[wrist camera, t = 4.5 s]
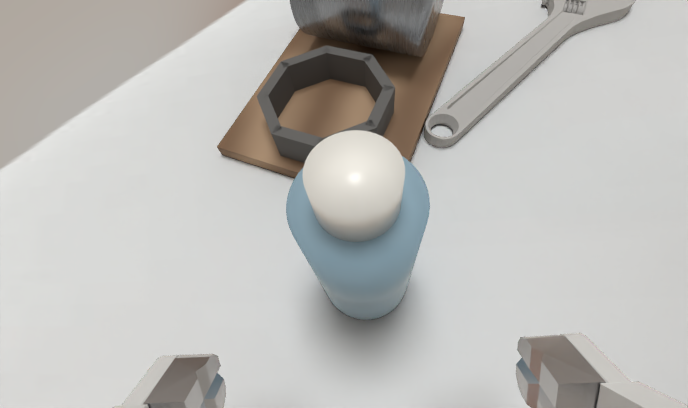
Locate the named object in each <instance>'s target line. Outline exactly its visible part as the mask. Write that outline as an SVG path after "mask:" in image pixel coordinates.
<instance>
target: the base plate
mask: <svg viewBox="0 0 688 408" xmlns="http://www.w3.org/2000/svg"><path fill="white" fill-rule="evenodd" d="M464 19H465V17H460V16H454V15H448V14H442V13H440V15H439V18H438V22H437V25H436V28H435V31H434V34H433V36H432V39H431V42H430V44H429V46H428V48H427V50H426V52H425V54H424V55H423V56H422V57H417V56H412V55H407V54H402V53H397V52H392V51H387V50H382V49H377V48H372V47H367V46H362V45H357V44H352V43H347V42H342V41H337V40H332V39H326V38H321V37H316V36H311V35H307V34H305V33H304V32H303V31H302V30H301V29H299V31H298V32H297V33H296V35H295V36H294V38H293V39H292V41H291V42H290V43H289V45H288V46H287V48H286V49H285V51H284V52H283V53H282V55H281V56H280V58H279V59H278V61H277V62H276V63H275V65H274V66H273V68H272V69H271V71H270V72H269V73H268V75H267V76H266V78H265V79H264V81H263V82H262V83H261V85H260V86H259V88H258V89H257V91H256V92H255V93H254V95H253V96H252V98H251V99H250V101H249V102H248V103H247V105H246V106H245V108H244V109H243V111H242V112H241V113H240V115H239V116H238V118H237V119H236V120H235V122H234V123H233V125H232V126H231V128H230V129H229V130H228V132H227V133H226V135H225V136H224V138H223V139H222V140H221V142H220V143H219V145H218V146H217V148H218V149H219V151H220V152H221V154H222V155H225V156H228V157H231V158H234V159H237V160H240V161H243V162H246V163H250V164H253V165H256V166H259V167H262V168H265V169H268V170H271V171H274V172H278V173H281V174H284V175H287V176H290V177H293V178H296V176H297V175H298V173H299V172H300V171H301V169H302V168H303V167H304V164H305V163H303V162H300V161H296V160H293V159H290V158H287V157H283V156H280V153H279V151H278V149H277V146H276V144H275V142H274V139H273V137H272V135H271V132H270V130H269V127H268V125H267V122H266V119H265V117H264V114H263V112H262V109H261V107H260V104H259V102H258V99H257V97H256V96H257V95H258V93H259V92H260V90H261V89H262V88H263V86H264V85H265V83H266V82H267V80H268V79H269V78H270V76H271V75H272V73H273V72H274V70H275V69H276V67H277V66H278V65H279V63H280V62H281V61H283V60H286V59H289V58H292V57H295V56H298V55H301V54H303V53H306V52H309V51H312V50H315V49H318V48H321V47H323V46H326V45H327V46H332V47H337V48H342V49H347V50H352V51H357V52H361V53H366V54H371V55H373V56H374V58H375V59H376V60H377V62H378V63H379V65H380V66H381V68H382V69H383V70H384V72H385V73H386V75H387V76H388V78H389V79H390V80H391V82H392V83H393V85H394V86H395V100H394V113H393V115H392V118H391V120H390V122H389V124H388V127H387V129H386V131H385V133H384V135H383V137H384V138H386V139H387V140H389V141H390V142H391V143H392V144H393V145H394V146H395V147H396V148H397V149H398V151H399V152H400V154H401V156H403V157H404V158H406V159H407V160H408V161H409V162H410V161H411V158H412V156H413V153H414V150H415V148H416V145H417V143H418V140H419V138H420V135H421V133H422V130H423V127H424V125H425V122H426V120H427V117H428V115H429V112H430V110H431V107H432V104H433V102H434V99H435V97H436V94H437V92H438V89H439V86H440V84H441V81H442V79H443V76H444V74H445V71H446V69H447V66H448V63H449V61H450V58H451V56H452V53H453V51H454V48H455V46H456V43H457V40H458V38H459V35H460V33H461V30H462V28H463V24H464ZM375 103H376V102H375V101H374V99H373V98H372V96H371V94H370V93H369V91H368V90H367V88H366V87H364V86H360V85H356V84H351V83H347V82H343V81H338V80H334V79H328V80H325V81H323V82H320V83H317V84H314V85H311V86H309V87H306V88H303V89H300V90H298V91H295V92H294V94H293V95H292V97H291V99H290V100H289V102H288V103H287V105H286V106H285V108H284V110H283V111H282V113H281V114H280V116H279V117H278V120H279V123H280V125H281V126H283V127H286V128H290V129H293V130H297V131H300V132H304V133H307V134H311V135H315V136H318V137H322V138H324V137H326V136H329V135H332V134H334V133H337V132H339V131H342V130H345V129H347V128H350V127H353V126H355V125H358V124H361V123H363V122H366V121H367V120H368V118H369V116H370V114H371V112H372V109H373V107H374V105H375Z"/></svg>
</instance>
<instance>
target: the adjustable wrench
mask: <svg viewBox="0 0 688 408" xmlns="http://www.w3.org/2000/svg"><path fill="white" fill-rule="evenodd" d="M635 1H636V0H542V5H545V6H546V7H547V9H548V18H547V19H546V20H545V21H544V22H542V23H541V24H540V25H539V26H538V27H536V28H535V29H534V30H533V31H532V32H530V33H529V34H528V35H527V36H525V37H524V38H523V39H522V40H521V41H519V42H518V43H517V44H516V45H515V46H513V47H512V48H511V49H510V50H509V51H507V52H506V53H505V54H504V55H503V56H501V57H500V58H499V59H498V60H497V61H495V62H494V63H493V64H492V65H491V66H489V67H488V68H487V69H486V70H485V71H483V72H482V73H481V74H480V75H479V76H477V77H476V78H475V79H474V80H473V81H471V82H470V83H469V84H468V85H466V86H465V87H464V88H463V89H462V90H460V91H459V92H458V93H457V94H456V95H454V96H453V97H452V98H451V99H450V100H448V101H447V102H446V103H445V104H444V105H442V106H441V107H440V108H439V109H438V110H436V111H435V112H434V113H433V114H432V115H430V116H429V117H428V119H427V120H426V123H425V129H424V137H425V139H426V141H427V142H428V143H429V144H431V145H433V146H435V147H439V148H446V147H449V146H452V145H453V144H455V143H456V142H457V141H458V140H459V139H460V138H461V137H462V136H463V135H464V134H465V133H466V132H467V131H469V130H470V129H471V128H472V127H473V126H474V125H475V124H476V123H477V122H478V121H479V120H480V119H481V118H482V117H483V116H484V115H486V114H487V113H488V112H489V111H490V110H491V109H492V108H493V107H494V106H495V105H496V104H497V103H498V102H499V101H500V100H501V99H502V98H504V97H505V96H506V95H507V94H508V93H509V92H510V91H511V90H512V89H513V88H514V87H515V86H516V85H517V84H518V83H519V82H521V81H522V80H523V79H524V78H525V77H526V76H527V75H528V74H529V73H530V72H531V71H532V70H533V69H534V68H535V67H536V66H538V65H539V64H540V63H541V62H542V61H543V60H544V59H545V58H546V57H547V56H548V55H549V54H550V53H551V52H552V51H553V50H554V49H556V48H557V47H558V46H559V45H560V44H561V43H562V42H563V41H564V40H566V39H567V38H568V37H570V36H572V35H574V34H576V33H579V32H581V31H584V30H587V29H590V28H593V27H596V26H600V25H604V24H608V23H611V22H615V21H617V20H620V19H621V18H623V17H624V16H625V15H626V14H627V12H628V11H629V9H630V8H631V6H632V5H633V3H634V2H635ZM438 124H443V125H447V126H449V127H450V128H451V129H452V130H453V135H452V136H449V137H439V136H436V135H434V134H433V133H432V132H431V128H432V127H433V126H434V125H438Z"/></svg>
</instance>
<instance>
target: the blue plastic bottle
mask: <svg viewBox="0 0 688 408" xmlns="http://www.w3.org/2000/svg"><path fill="white" fill-rule="evenodd" d="M429 209H430V202H429V194H428V190H427V187H426V184H425V182H424V180H423V178H422V176H421V174H420V173H419V172H418V170H417V169H416V168H415V167H414V166H413V165H412V164H411V163H410V162H409V161H408V160H407V159H406V158H404V157H403V156H401V154H400V152H399V151H398V149H397V148H396V147H395V146H394V145H393V144H392V143H391V142H390V141H389V140H387V139H386V138H384V137H382V136H380V135H378V134H375V133H372V132H368V131H361V130H351V131H344V132H340V133H337V134H334V135H331V136H329V137H327V138H326V139H324V140H322V141H321V142H320V143H318V144H317V145H316V146H315V147H314V148H313V149H312V151H311V152H310V153H309V155H308V157H307V159H306V161H305V164H304V167H303V168H302V169H301V171H300V172H299V173H298V175H297V176H296V178H295V179H294V181H293V183H292V185H291V187H290V190H289V193H288V198H287V204H286V213H287V220H288V224H289V228H290V230H291V232H292V234H293V236H294V238H295V240H296V242H297V243H298V245H299V247H300V249H301V250H302V252H303V254H304V255H305V257H306V259H307V261H308V262H309V264H310V266H311V267H312V269H313V271H314V273H315V274H316V276H317V278H318V280H319V281H320V283H321V285H322V286H323V288H324V290H325V292H326V293H327V295H328V297H329V299H330V300H331V302H332V303H333V304H334V305H335V307H336V308H337V309H339V310H340V311H341V312H343V313H344V314H346V315H348V316H350V317H353V318H356V319H362V320H370V319H376V318H379V317H382V316H384V315H386V314H388V313H390V312H391V311H392V310H393V309H395V308H396V307H397V305H398V304H399V303H400V302H401V300H402V298H403V296H404V294H405V291H406V288H407V285H408V282H409V279H410V275H411V272H412V269H413V266H414V263H415V259H416V256H417V253H418V250H419V247H420V243H421V240H422V237H423V234H424V231H425V228H426V224H427V221H428V217H429Z"/></svg>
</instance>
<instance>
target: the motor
mask: <svg viewBox="0 0 688 408" xmlns="http://www.w3.org/2000/svg"><path fill="white" fill-rule="evenodd" d="M290 4H291V9H292V12H293V16H294V18H295V21H296V23H297V25H298V26H299V28H300V29H301V30H302V31H303V32H304V33H305V34H307V35H311V36H316V37H321V38H326V39H332V40H337V41H342V42H347V43H352V44H357V45H362V46H367V47H372V48H377V49H382V50H387V51H392V52H397V53H402V54H407V55H412V56H417V57H422V56H423V55H424V54H425V52H426V50H427V48H428V46H429V44H430V42H431V39H432V36H433V34H434V31H435V28H436V25H437V22H438V18H439V15H440V11H441V8H442V4H443V0H290Z"/></svg>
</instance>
